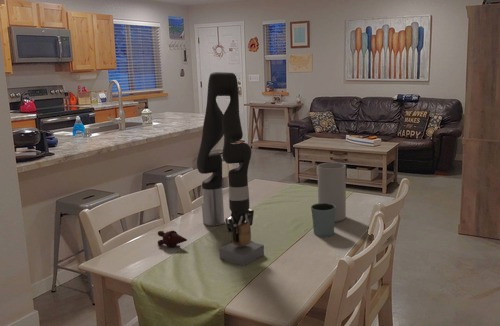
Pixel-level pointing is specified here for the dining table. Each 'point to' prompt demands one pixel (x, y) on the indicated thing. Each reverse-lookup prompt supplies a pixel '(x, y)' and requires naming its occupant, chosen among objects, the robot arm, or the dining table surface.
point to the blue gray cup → (323, 219)
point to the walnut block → (243, 235)
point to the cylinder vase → (333, 187)
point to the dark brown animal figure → (170, 238)
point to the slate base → (241, 253)
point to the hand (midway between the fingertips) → (241, 239)
